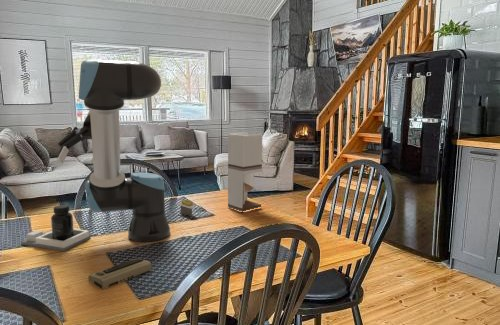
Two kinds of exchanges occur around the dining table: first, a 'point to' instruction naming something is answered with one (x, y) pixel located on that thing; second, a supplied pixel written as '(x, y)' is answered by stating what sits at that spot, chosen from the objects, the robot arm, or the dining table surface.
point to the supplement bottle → (62, 223)
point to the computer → (120, 272)
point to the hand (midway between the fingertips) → (76, 162)
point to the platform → (186, 207)
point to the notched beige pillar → (243, 168)
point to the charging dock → (48, 242)
